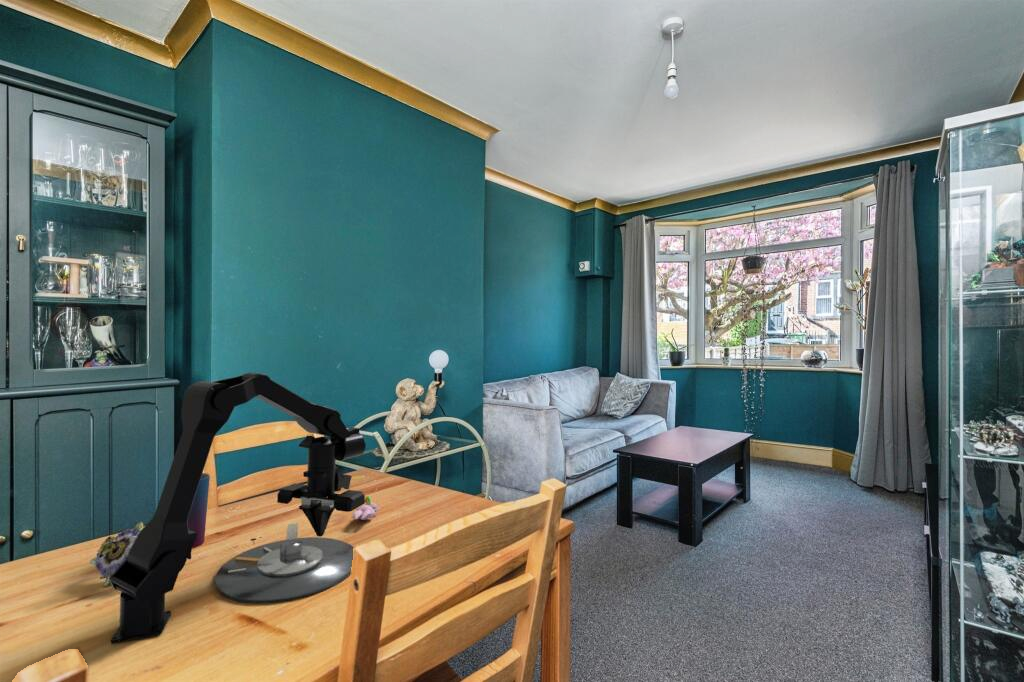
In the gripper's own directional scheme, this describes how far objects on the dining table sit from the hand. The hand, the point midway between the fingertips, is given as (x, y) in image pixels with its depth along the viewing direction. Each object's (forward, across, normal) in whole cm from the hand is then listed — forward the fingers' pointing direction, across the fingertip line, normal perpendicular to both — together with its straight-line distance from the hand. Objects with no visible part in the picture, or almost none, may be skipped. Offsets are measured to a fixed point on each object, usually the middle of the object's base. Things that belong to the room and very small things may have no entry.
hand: (320, 535), depth 108 cm
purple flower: (+3, +1, -19) cm, 20 cm away
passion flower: (+3, +26, +21) cm, 34 cm away
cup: (+3, +29, +6) cm, 30 cm away
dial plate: (+3, 0, +9) cm, 10 cm away
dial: (+2, +2, +7) cm, 8 cm away
